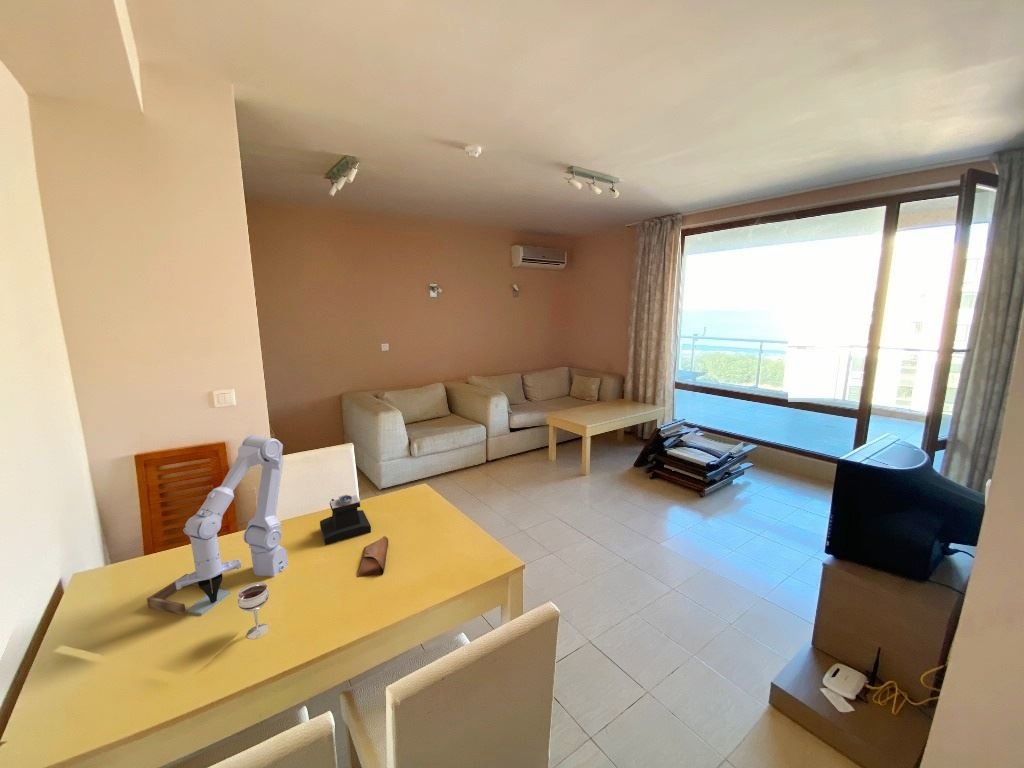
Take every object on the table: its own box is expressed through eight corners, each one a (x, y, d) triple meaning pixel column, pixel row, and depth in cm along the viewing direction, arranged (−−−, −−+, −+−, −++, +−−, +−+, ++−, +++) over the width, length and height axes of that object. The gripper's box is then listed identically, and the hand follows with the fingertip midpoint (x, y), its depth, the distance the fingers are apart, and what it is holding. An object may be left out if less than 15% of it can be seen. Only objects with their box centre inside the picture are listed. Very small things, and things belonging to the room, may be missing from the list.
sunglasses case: (363, 545, 144) (372, 529, 144) (381, 552, 146) (391, 537, 146) (356, 578, 127) (366, 560, 127) (376, 585, 129) (387, 568, 129)
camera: (323, 512, 141) (316, 492, 153) (325, 548, 145) (318, 525, 157) (369, 500, 150) (359, 482, 162) (371, 534, 154) (361, 514, 166)
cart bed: (220, 591, 121) (218, 579, 120) (183, 618, 110) (181, 605, 110) (188, 585, 124) (186, 573, 123) (149, 611, 113) (146, 598, 112)
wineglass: (266, 617, 111) (262, 578, 109) (277, 629, 107) (272, 589, 105) (238, 632, 106) (232, 591, 104) (247, 646, 102) (242, 603, 99)
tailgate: (216, 590, 120) (230, 593, 119) (187, 612, 111) (201, 615, 110) (216, 588, 119) (230, 591, 118) (186, 609, 111) (201, 612, 110)
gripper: (236, 540, 119) (242, 581, 122) (172, 559, 110) (180, 604, 113) (239, 551, 114) (245, 594, 117) (173, 572, 105) (180, 618, 107)
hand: (213, 600), depth 114 cm, fingers closed
